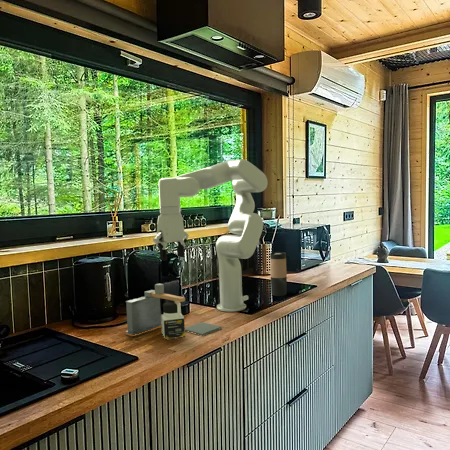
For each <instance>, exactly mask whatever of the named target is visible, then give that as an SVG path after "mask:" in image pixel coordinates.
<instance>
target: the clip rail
mask: <svg viewBox="0 0 450 450" xmlns="http://www.w3.org/2000/svg"><path fill="white" fill-rule="evenodd" d="M125 303H126V324H127V330H126V331H125V333H128V334H131V335H135V334H139V333H142V332H145V331H148V330H151V329H153V328H156V327H159V326H161V315H162V310H161V298H158V297H153V296H152V297H147V296H145V295H144V296H141V297H138V298H133V299H129V300H126V301H125Z"/></svg>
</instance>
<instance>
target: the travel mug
mask: <svg viewBox="0 0 450 450" xmlns="http://www.w3.org/2000/svg"><path fill="white" fill-rule="evenodd" d="M269 257H270V258H269V259H270V260H269V261H270V263H269V264H270V267H269V269H270V288H271V295H272V296H274V297H280V296H281V297H283V296H286V295H287V286H288V285H287V284H288V283H287V281H288V280H287V279H288V277H287V276H288V273H287V272H288V271H287V253H286V252H283V251H273V252H270V253H269Z"/></svg>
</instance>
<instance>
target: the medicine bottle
mask: <svg viewBox="0 0 450 450" xmlns="http://www.w3.org/2000/svg"><path fill="white" fill-rule="evenodd" d="M181 303H182V302H177V301H172V300H168V301H166V302H164V303H163V307H162V309H163V314H162V313H161V326H162V328H161V334H163V335H162V337H163V336H164V337H163V339H164V338H175V337H182V336H185V337H186V332H185V328H186V327H185V316H184V315H183V314H182V309H181V305H182V304H181ZM175 339H176V338H175Z"/></svg>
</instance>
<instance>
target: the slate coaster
mask: <svg viewBox="0 0 450 450" xmlns="http://www.w3.org/2000/svg"><path fill="white" fill-rule="evenodd" d="M221 329H222V325H221V326H220V325H217V324H212V323H207V322H204V321H200V322H198V323H195V324H192V325H188V326H186V327H185V331H189V332H193V333H196V334H199V335H198V336H200V335H202V336H201V337H204V336H206V334H207V335H209V334H211V332H212V333H214V332H217V331H220V330H221ZM189 332H188V333H189ZM208 333H209V334H208ZM196 334H195V335H196ZM203 335H204V336H203Z"/></svg>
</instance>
